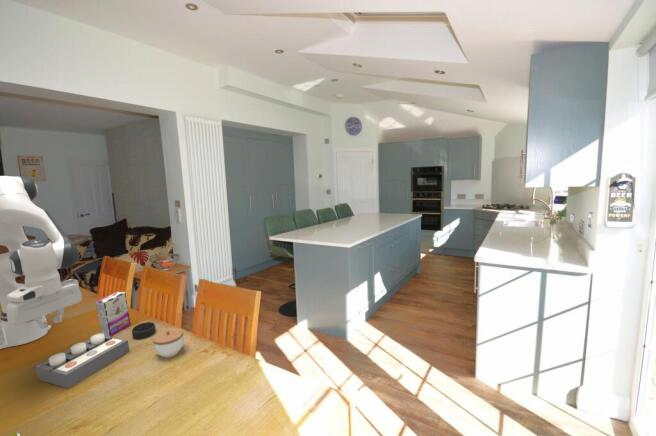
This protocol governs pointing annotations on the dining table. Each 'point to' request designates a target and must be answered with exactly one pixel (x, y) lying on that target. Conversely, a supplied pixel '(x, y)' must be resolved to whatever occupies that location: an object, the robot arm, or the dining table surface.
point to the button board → (83, 362)
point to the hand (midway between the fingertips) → (51, 324)
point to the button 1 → (57, 360)
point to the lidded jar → (168, 342)
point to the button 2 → (78, 349)
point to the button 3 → (97, 339)
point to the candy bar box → (113, 313)
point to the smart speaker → (143, 330)
